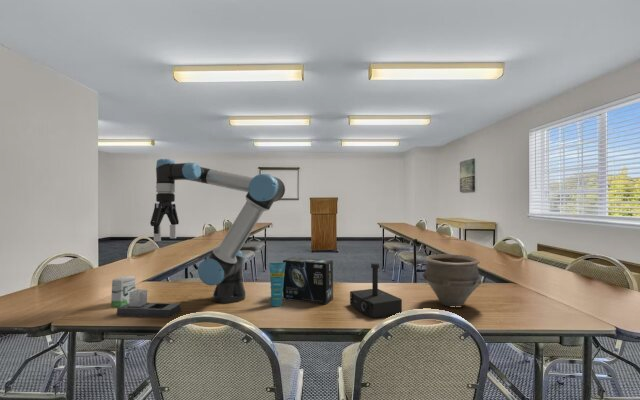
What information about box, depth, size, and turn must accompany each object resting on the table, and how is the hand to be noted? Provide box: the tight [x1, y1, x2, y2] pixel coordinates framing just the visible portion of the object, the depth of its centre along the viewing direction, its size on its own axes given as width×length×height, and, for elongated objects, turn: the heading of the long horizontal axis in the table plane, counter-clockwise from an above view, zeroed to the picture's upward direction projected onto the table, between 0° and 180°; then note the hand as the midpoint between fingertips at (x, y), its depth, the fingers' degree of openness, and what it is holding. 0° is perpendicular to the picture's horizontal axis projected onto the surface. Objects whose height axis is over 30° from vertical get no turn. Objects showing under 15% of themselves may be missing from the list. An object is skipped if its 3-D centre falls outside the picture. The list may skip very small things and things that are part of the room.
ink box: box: [110, 275, 137, 308], centre depth 133 cm, size 9×5×12 cm, turn 171°
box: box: [282, 257, 334, 305], centre depth 143 cm, size 23×10×19 cm, turn 67°
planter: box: [422, 253, 483, 307], centre depth 135 cm, size 25×24×22 cm
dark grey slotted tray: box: [116, 302, 182, 319], centre depth 121 cm, size 22×8×3 cm, turn 86°
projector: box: [349, 262, 403, 319], centre depth 128 cm, size 19×17×20 cm
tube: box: [268, 261, 286, 307], centre depth 133 cm, size 7×5×19 cm, turn 103°
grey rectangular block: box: [129, 288, 148, 308], centre depth 122 cm, size 4×4×9 cm
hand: (165, 239), depth 134 cm, fingers open, 13 cm apart
